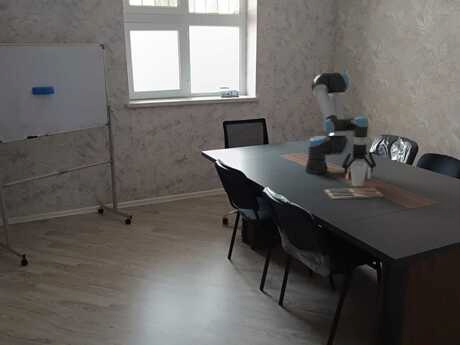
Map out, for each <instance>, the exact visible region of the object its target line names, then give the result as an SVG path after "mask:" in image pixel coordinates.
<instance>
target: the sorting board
mask: <svg viewBox="0 0 460 345" xmlns="http://www.w3.org/2000/svg"><path fill="white" fill-rule="evenodd" d="M323 192H324V193H325V194H326V195H327V196H328V197H329V198H330V199H331V200H345V199H368V198H384V194H383V193H382V192H381V191H379V190H377V189H376V188H375V187H374V186H368V187H367V186H366V187H365V186H364V187H346V188H345V187H344V188H326V189H325V188H324V189H323Z"/></svg>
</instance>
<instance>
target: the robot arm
mask: <svg viewBox="0 0 460 345" xmlns="http://www.w3.org/2000/svg"><path fill="white" fill-rule="evenodd" d="M349 86H350V83H349V78H348V76H347V74H346V73H345V72H322V73H319V74H317V75H316V76H315V77H314V78H313V80H312V82H311V86H310V87H311V91H312V94H313V96H315V98H316V101H317V104H318V106H319V108H320V111H321V114H322V116H323V122H322V129H323V131H324V132H325V133H329V134H328V135H327V136H326V135H316V136H312V137H310V138H309V139H308V144H307V149H308V150H307V162H306V164H305V167H304V171H305V172H306V173H308V174H313V175H323V174H326V173H328V172H329V168H328V163H327V160H326V159H327V158H326V157H328V156H340V155H345V154H347V155H346V157H345V159H344V161H343V162H342V163H341V168H343V169H344V170H343V171H344V174H345V180H349V176H350V175H349V173H350V169H349V168H350V166H351V164H352V163H353V162H354V161H355V162H356V160H364V161H365V163H366V164H367V178H368V179H369V180H370V179H371V178H372V173H373V171H374V170H373V169H374V167H377V164H376V162H375V160H374V157H373V153H372V151H371V150H368V151H367V147H368V144H367V142H368V129H369V119H368V117H367V116H357V117H348V118H344V95H345V94H346V91H347V90H348V89H349ZM346 132H353V140H352V141H353V146H352V148H353V149H352V152H350V151H349V148H350V139H349V137H348V136H346V135H347V134H346ZM366 156H368V158H369V159H368V158H367V157H366Z"/></svg>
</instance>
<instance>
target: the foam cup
mask: <svg viewBox="0 0 460 345" xmlns="http://www.w3.org/2000/svg"><path fill="white" fill-rule="evenodd" d="M349 168H350V174H351V175H350V176H351V185H352V186H353V187H359V186H360V187H363V186H364V184H365V177H366V172H367V170H368V164H367V162H361V161H355V162H353V163H352V164H351V165H350V166H349Z"/></svg>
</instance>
